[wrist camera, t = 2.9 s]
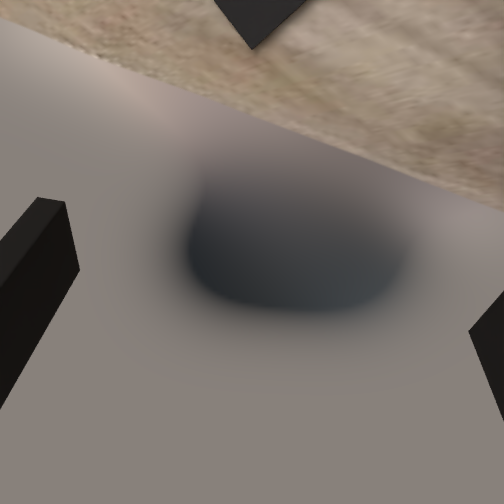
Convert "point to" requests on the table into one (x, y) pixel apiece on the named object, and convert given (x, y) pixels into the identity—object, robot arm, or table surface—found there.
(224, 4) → the mat
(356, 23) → the table surface
